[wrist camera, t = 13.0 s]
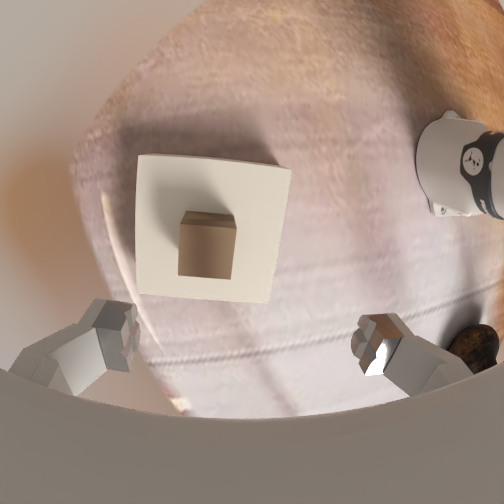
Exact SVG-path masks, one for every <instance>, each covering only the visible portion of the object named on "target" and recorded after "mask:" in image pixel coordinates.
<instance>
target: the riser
mask: <svg viewBox="0 0 504 504" xmlns="http://www.w3.org/2000/svg"><path fill="white" fill-rule="evenodd" d="M291 174H292V170H291V169H289V168H286V167H283V166H279V165H273V164H266V163H258V162H251V161H242V160H234V159H224V158H214V157H203V156H190V155H175V154H155V153H151V154H143V155H138V167H137V182H136V208H135V252H136V278H137V293H140V294H149V295H159V296H169V297H181V298H192V299H205V300H219V301H235V302H253V303H269V298H270V293H271V288H272V283H273V277H274V272H275V266H276V261H277V256H278V250H279V244H280V239H281V233H282V228H283V222H284V216H285V210H286V204H287V198H288V192H289V186H290V180H291ZM186 211H196V212H208V213H219V214H230V215H234V219H235V223H236V227H237V232H236V240H235V248H234V256H233V265H232V273H231V280H228V279H214V278H202V277H189V276H178V254H179V232H180V223H181V221H182V218H183V216H184V214H185V212H186Z"/></svg>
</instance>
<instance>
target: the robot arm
mask: <svg viewBox="0 0 504 504" xmlns="http://www.w3.org/2000/svg"><path fill="white" fill-rule="evenodd" d="M416 166H417V173H418V178H419V181H420V184H421V186H422V189H423V190H424V192H425V194H426V195H427V197H428V199H429V205H430V210H431V213H432V214H433V215H434V216H461V215H465V216H468V217H469V216H470V215H479V214H484V213H485V214H487V215H488V216H490V217H493V218H496V219H500V220H504V133H502V132H498V131H494V132H493V131H489V130H488V128H487V127H486V126H485V125H484V123H482V122H480V121H474V120H467V119H461V118H460V117H459V116H458V115H457V114H456V113H455V112H454V111H451V110H447V111H446V112H445V113H444V115H443V116H442V118H440V119H438V120H436V121H433V122H431V123H430V124H429V125H428V126H427V127H426V128H425V129H424V131H423V132H422V134H421V137H420V139H419V143H418V147H417V154H416ZM441 208H442V209H441ZM137 315H138V312H137V306H136V304H134V303H127V302H120V301H114V300H107V299H100V298H96V299H94V300H93V302H92V303H91V305H90V306H89V308H88V309H87V311H86V312H85V314H84V315H83V317H82V318H81V320H80V321H79V323H78V324H72V325H70V326H68V327H66V328H64V329H62V330H60V331H58V332H56V333H54V334H52V335H50V336H48V337H46V338H44V339H42V340H40V341H38V342H36V343H34V344H32V345H30V346H28V347H26V348H24V349H23V350H22V351H21V353H20V354H19V356H18V357H17V359H16V360H15V362H14V363H13V365H12V366H11V368H10V369H9V371H8V372H7V371H5V370H3V369H1V368H0V504H504V361H503V362H501V363H499V364H497V365H495V366H493V367H491V368H489V369H486V370H484V371H482V372H480V373H477V374H475V375H474V374H473V373H472V372H471V371H470V369H469V368H468V367H467V366H466V364H465V363H464V362H463V361H462V360H461V358H459V357H457V356H455V355H453V354H452V353H450V352H448V351H446V350H444V349H442V348H440V347H438V346H436V345H434V344H433V343H431V342H429V341H427V340H425V339H423V338H421V337H419V336H414V334H413V333H412V332H411V331H410V329H409V328H408V327H407V326H406V325H405V323H404V322H403V321H402V320H401V319H400V318H399V316H398V315H397V314H395V313H385V314H371V315H362V316H361V317H360V318H359V321H358V323H357V324H358V327H359V328H358V329H357V330H356V331H355V332H354V334H353V336H352V339H351V349H352V352H353V354H354V356H356V357H357V358H359V359H360V361H359V365H360V367H361V369H362V371H363V373H364V375H373V374H381V373H383V375H384V376H386V377H387V378H388V379H389V380H390V381H392V382H393V383H394V384H395V385H397V386H398V387H399V388H400V389H402V390H403V391H404V392H405V393H407V394H408V395H409V396H410V397H407V398H404V399H400V400H396V401H392V402H388V403H383V404H379V405H374V406H369V407H364V408H359V409H353V410H347V411H341V412H334V413H327V414H319V415H310V416H299V417H286V418H265V419H222V418H202V417H189V416H178V415H168V414H161V413H153V412H147V411H140V410H134V409H129V408H124V407H119V406H113V405H109V404H105V403H100V402H96V401H92V400H88V399H84V398H81V397H77V395H78V394H80V393H81V392H82V391H83V390H84V389H85V388H87V387H88V386H89V385H90V384H91V383H93V382H94V381H95V380H96V379H97V378H98V377H100V376H101V375H102V374H103V373H104V372H105V371H107V369H111V370H117V371H123V372H130V371H131V367H132V364H133V361H134V355H133V352H135V351H136V350H137V349H138V346H139V340H140V327H139V324H138V322H137V321H136V317H137Z"/></svg>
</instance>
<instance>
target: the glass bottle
mask: <svg viewBox="0 0 504 504" xmlns="http://www.w3.org/2000/svg"><path fill="white" fill-rule="evenodd" d="M498 350H499V338H498V335H497V333H496V331H495V330H494V329H493V328H492V327H490V326H488V325H484V324H477V325H474V326H471V327H469V328H467V329H465V330H464V331H463V332H462V333H461V334H459V336H458V337H457V338H456V339H455V340H454V342H453V343H452V345H451V346H450V348H449V351H448V352H450V353H452V354H453V355H455V356H457V357H459V358H461V360H462V361H463V362H464V363H465V364H466V366H467V367H468V368H469V369H470V371H471V372H472V373H473V374H474V375H475V374H477V373H480V372H482V371H484V370H486V369H489V368H491V367H493V366H495V365H497V362H496V356H497V353H498Z"/></svg>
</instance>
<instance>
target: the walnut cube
mask: <svg viewBox="0 0 504 504" xmlns="http://www.w3.org/2000/svg"><path fill="white" fill-rule="evenodd" d="M236 232H237V227H236V223H235V219H234V215H230V214H219V213H208V212H196V211H186V212H185V214H184V216H183V218H182V221H181V223H180V232H179V254H178V276H189V277H202V278H214V279H228V280H231V273H232V265H233V256H234V248H235V240H236Z"/></svg>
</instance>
